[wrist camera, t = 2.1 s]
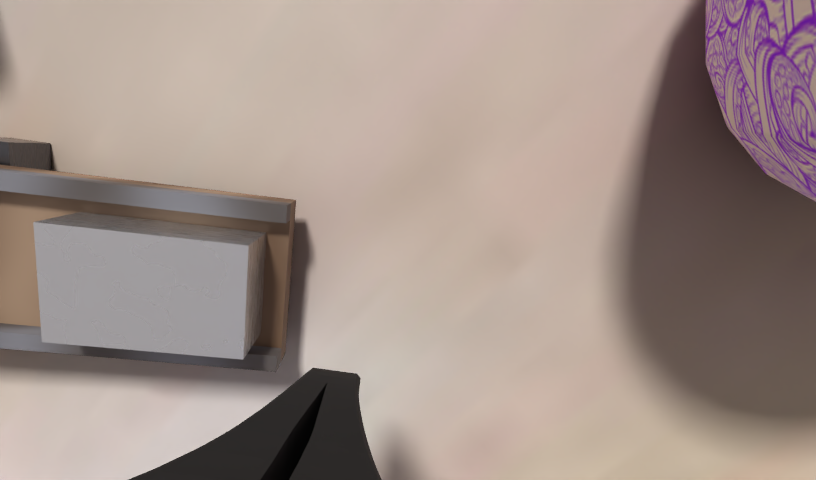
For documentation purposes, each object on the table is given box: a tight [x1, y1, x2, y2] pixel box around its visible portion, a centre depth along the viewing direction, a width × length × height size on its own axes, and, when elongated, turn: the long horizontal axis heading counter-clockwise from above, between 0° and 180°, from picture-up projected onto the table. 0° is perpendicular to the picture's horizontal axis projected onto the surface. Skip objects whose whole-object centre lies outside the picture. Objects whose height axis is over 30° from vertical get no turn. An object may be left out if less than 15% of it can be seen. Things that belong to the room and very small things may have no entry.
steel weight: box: [33, 212, 266, 360], centre depth 17 cm, size 8×5×2 cm, turn 83°
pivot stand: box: [0, 138, 52, 171], centre depth 20 cm, size 2×10×2 cm, turn 173°
